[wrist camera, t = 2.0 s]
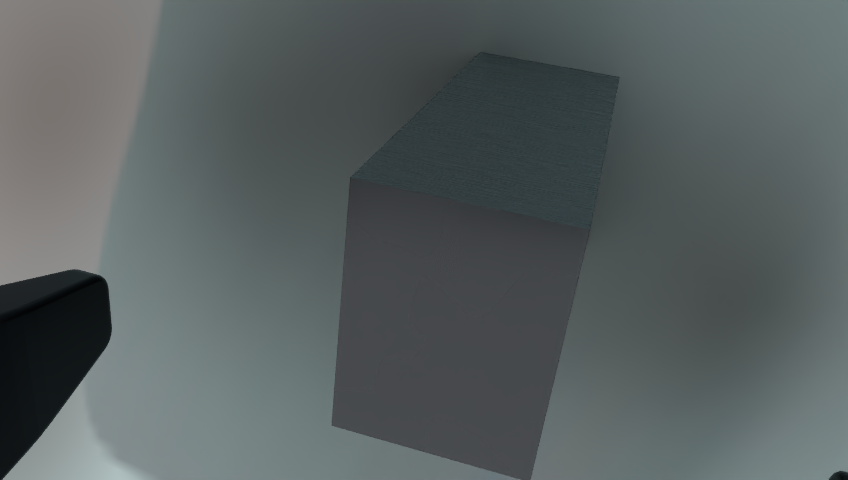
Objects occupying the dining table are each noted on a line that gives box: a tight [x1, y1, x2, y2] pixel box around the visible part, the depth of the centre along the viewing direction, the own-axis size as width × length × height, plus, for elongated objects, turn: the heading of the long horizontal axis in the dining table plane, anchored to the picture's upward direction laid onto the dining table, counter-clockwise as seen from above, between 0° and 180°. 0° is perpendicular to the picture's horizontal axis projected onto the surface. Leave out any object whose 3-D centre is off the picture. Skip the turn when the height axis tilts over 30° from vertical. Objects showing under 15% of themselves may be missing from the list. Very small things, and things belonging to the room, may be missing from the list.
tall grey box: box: [332, 52, 619, 480], centre depth 14 cm, size 4×3×8 cm
